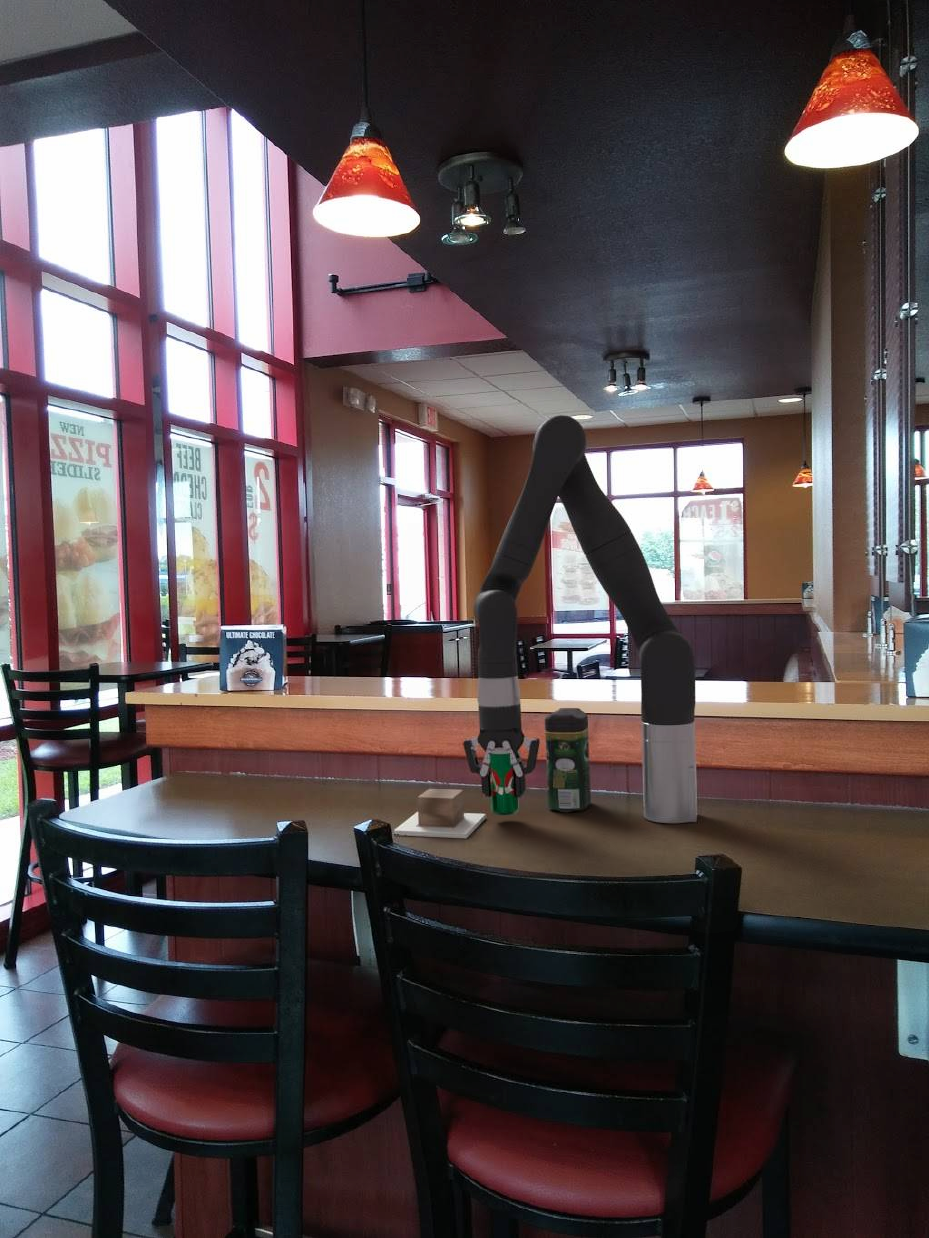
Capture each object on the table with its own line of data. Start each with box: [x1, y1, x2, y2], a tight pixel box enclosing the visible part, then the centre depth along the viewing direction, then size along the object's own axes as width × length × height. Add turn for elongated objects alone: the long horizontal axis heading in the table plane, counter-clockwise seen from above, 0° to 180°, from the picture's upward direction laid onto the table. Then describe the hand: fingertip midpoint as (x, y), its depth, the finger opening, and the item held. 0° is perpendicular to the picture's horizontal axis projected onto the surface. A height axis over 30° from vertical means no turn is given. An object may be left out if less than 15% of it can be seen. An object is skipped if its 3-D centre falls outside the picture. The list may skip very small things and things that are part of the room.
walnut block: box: [417, 788, 465, 827], centre depth 162 cm, size 6×6×5 cm
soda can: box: [489, 747, 520, 816], centre depth 164 cm, size 5×5×12 cm
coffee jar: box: [544, 707, 592, 813], centre depth 173 cm, size 10×8×19 cm
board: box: [393, 811, 487, 839], centre depth 163 cm, size 13×13×1 cm
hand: (503, 795), depth 164 cm, fingers closed on soda can, 5 cm apart
